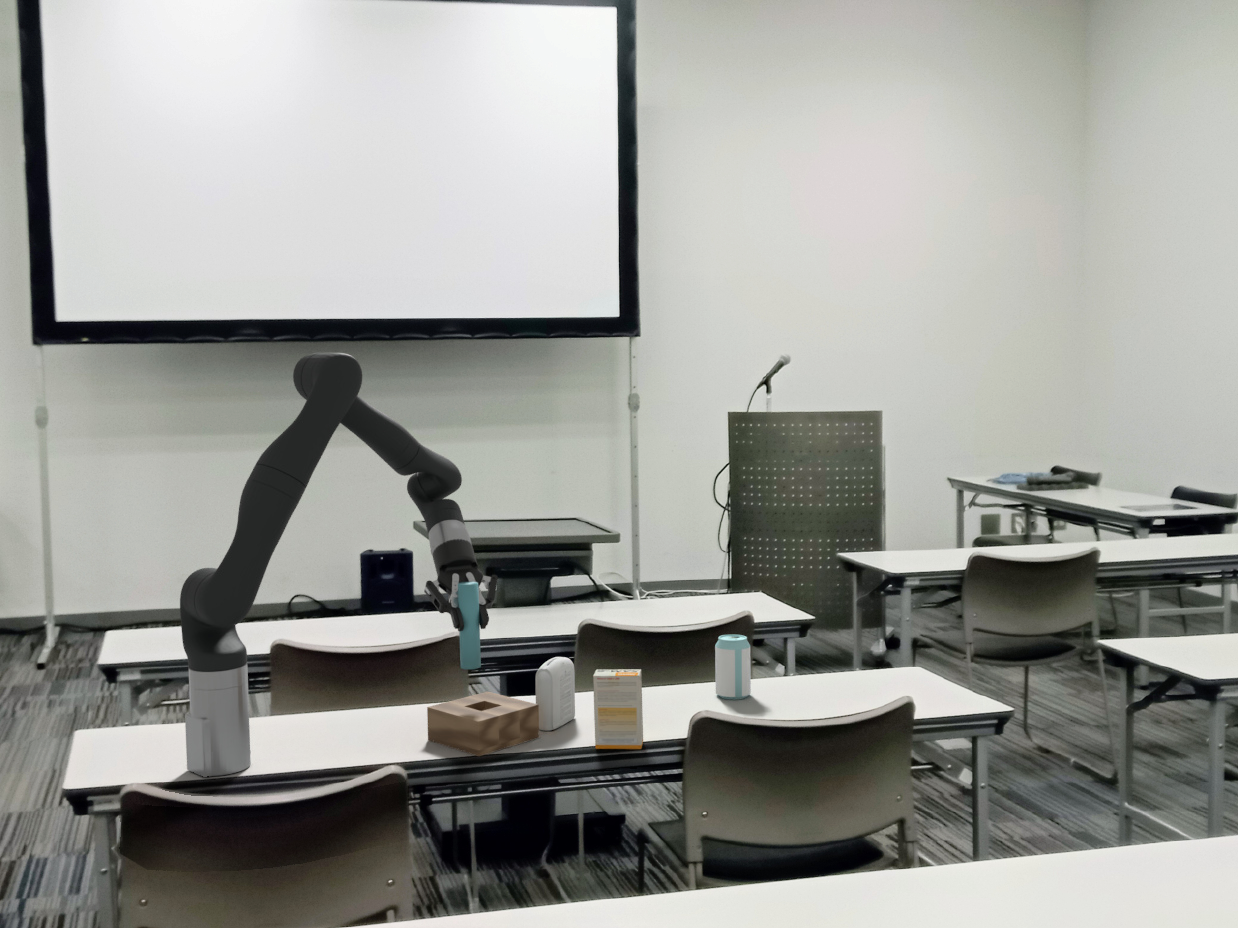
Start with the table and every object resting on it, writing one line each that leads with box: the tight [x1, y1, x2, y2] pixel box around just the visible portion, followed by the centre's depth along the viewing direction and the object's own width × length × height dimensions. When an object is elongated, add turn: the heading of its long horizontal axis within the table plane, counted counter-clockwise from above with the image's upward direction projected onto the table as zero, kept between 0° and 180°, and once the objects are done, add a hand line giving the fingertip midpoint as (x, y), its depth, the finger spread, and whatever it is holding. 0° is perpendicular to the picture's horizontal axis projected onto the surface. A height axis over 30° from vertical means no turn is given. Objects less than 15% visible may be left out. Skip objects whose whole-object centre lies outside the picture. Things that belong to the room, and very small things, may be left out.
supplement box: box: [592, 668, 644, 750], centre depth 201 cm, size 8×5×13 cm, turn 84°
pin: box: [458, 582, 482, 670], centre depth 205 cm, size 4×4×15 cm
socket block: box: [426, 691, 540, 757], centre depth 206 cm, size 14×14×6 cm
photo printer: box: [535, 656, 576, 732], centre depth 215 cm, size 10×4×12 cm, turn 157°
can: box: [714, 634, 752, 700], centre depth 233 cm, size 7×7×12 cm
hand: (472, 627), depth 203 cm, fingers closed on pin, 3 cm apart
